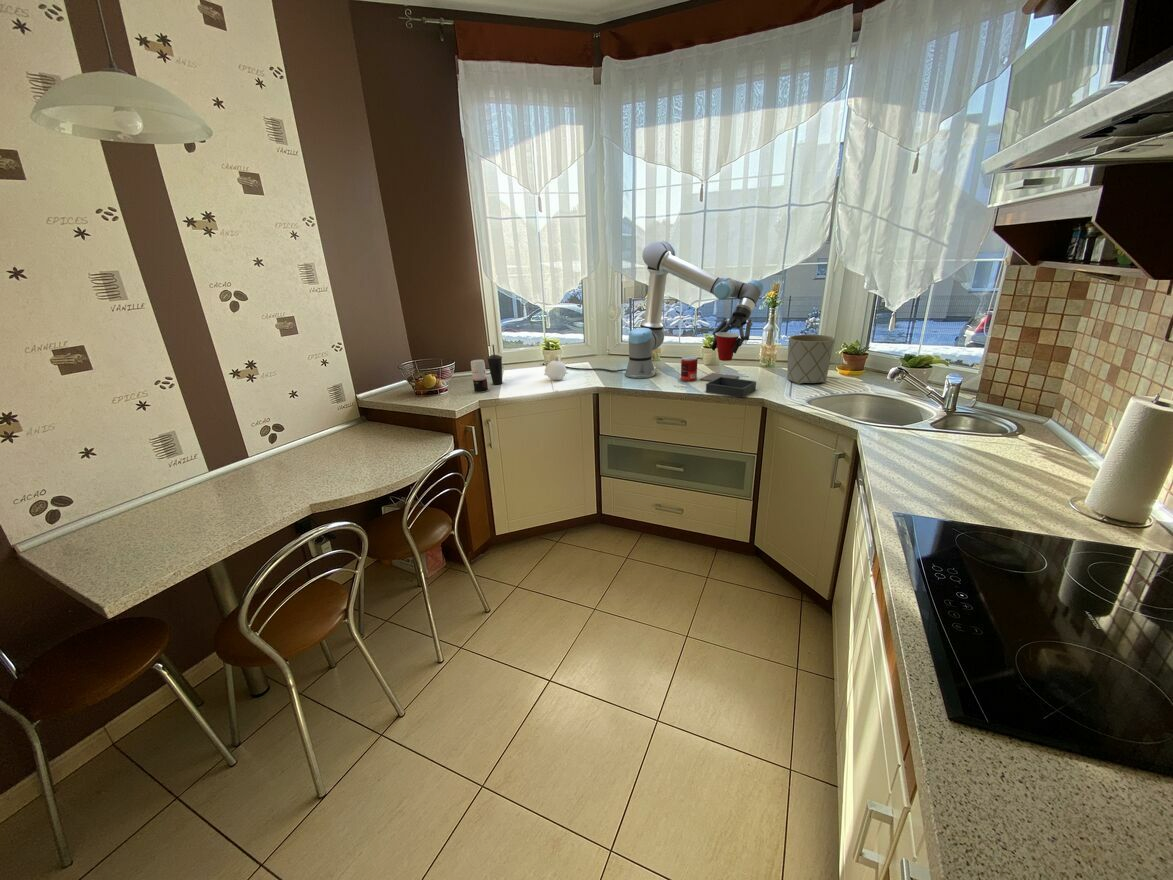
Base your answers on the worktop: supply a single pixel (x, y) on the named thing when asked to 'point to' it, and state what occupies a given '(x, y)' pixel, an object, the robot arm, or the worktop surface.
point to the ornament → (556, 369)
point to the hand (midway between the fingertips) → (723, 350)
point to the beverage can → (479, 376)
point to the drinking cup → (495, 368)
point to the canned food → (688, 368)
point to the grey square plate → (717, 376)
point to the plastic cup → (726, 345)
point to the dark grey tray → (731, 387)
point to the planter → (809, 358)
